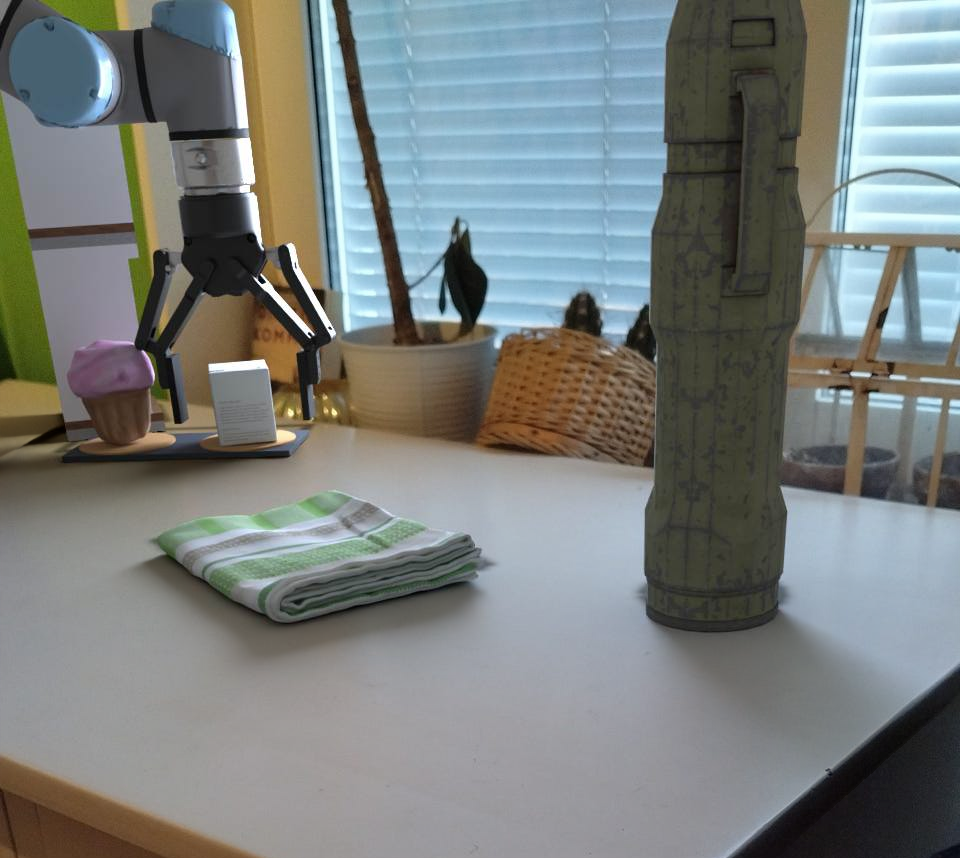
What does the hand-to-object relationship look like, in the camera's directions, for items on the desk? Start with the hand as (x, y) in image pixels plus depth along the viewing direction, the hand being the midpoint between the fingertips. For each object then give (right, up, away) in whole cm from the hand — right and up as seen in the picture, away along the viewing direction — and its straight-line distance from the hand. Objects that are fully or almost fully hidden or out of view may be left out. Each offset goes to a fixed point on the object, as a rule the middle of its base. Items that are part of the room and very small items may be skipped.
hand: (245, 420), depth 137 cm
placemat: (-6, -2, +2) cm, 7 cm away
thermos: (+40, -29, -50) cm, 70 cm away
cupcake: (-13, -2, +2) cm, 13 cm away
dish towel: (+12, -24, -37) cm, 46 cm away
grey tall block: (-18, +4, +14) cm, 23 cm away
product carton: (0, -2, +1) cm, 2 cm away
